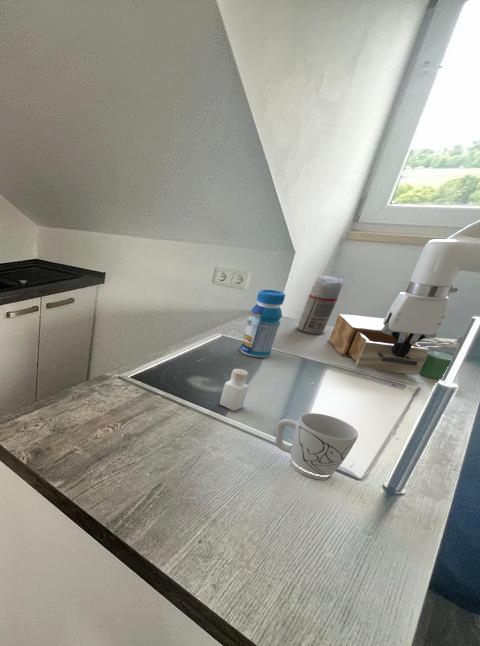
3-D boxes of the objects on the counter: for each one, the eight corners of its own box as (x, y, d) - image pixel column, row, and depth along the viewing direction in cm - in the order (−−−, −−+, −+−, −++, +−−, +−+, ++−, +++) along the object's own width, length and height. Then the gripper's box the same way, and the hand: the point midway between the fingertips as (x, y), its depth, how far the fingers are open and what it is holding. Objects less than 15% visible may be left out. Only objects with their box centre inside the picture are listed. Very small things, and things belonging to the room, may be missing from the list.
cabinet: (402, 364, 117) (416, 334, 113) (341, 355, 122) (353, 327, 118) (383, 347, 129) (395, 319, 125) (329, 340, 134) (339, 313, 130)
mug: (259, 458, 77) (274, 416, 73) (276, 442, 82) (291, 402, 78) (329, 491, 69) (350, 445, 65) (344, 471, 74) (364, 427, 69)
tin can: (440, 372, 111) (450, 353, 109) (451, 381, 107) (462, 361, 104) (414, 369, 113) (423, 350, 111) (423, 377, 109) (433, 357, 106)
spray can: (323, 329, 144) (343, 276, 135) (325, 336, 138) (346, 280, 129) (295, 325, 148) (313, 273, 140) (296, 332, 142) (315, 277, 133)
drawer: (424, 382, 104) (438, 356, 101) (361, 373, 109) (372, 347, 106) (396, 357, 119) (407, 333, 116) (342, 350, 124) (351, 327, 121)
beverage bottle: (263, 360, 119) (283, 297, 111) (234, 352, 125) (251, 291, 117) (274, 353, 124) (293, 292, 116) (245, 345, 130) (262, 287, 122)
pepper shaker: (243, 407, 95) (253, 372, 91) (233, 412, 93) (244, 376, 89) (227, 400, 98) (236, 366, 94) (218, 404, 96) (227, 370, 92)
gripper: (459, 289, 99) (427, 354, 107) (383, 284, 105) (358, 346, 113) (476, 296, 93) (441, 365, 101) (395, 291, 99) (368, 356, 107)
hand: (398, 355), depth 107 cm, fingers closed
